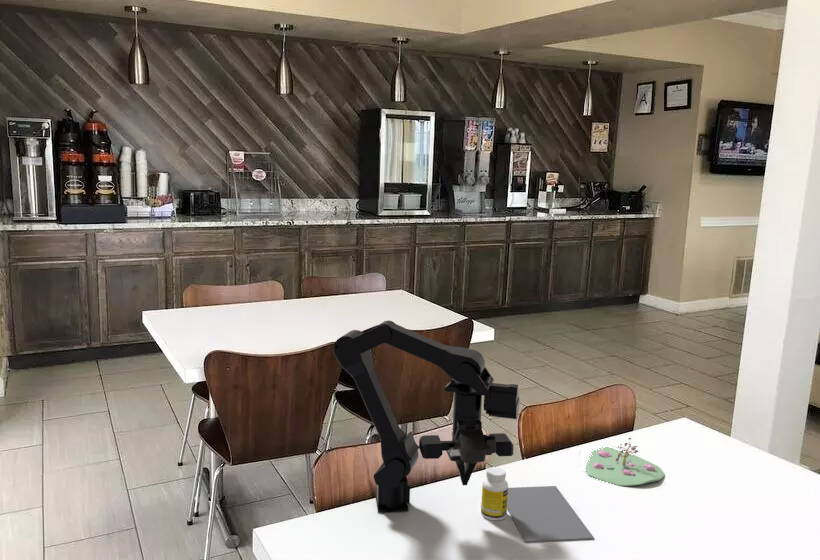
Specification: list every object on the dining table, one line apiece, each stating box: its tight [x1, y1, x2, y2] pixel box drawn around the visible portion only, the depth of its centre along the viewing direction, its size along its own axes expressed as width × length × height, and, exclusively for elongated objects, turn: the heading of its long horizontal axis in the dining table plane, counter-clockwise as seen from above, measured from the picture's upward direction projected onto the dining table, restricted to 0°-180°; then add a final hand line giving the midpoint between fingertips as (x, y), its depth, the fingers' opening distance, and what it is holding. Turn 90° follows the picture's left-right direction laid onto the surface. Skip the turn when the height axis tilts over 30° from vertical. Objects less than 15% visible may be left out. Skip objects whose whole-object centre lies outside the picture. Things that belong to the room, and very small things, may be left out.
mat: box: [507, 485, 595, 543], centre depth 141 cm, size 14×22×1 cm, turn 7°
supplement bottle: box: [480, 466, 509, 521], centre depth 138 cm, size 5×5×10 cm
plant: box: [584, 437, 665, 487], centre depth 165 cm, size 25×21×9 cm
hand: (464, 484), depth 137 cm, fingers closed
